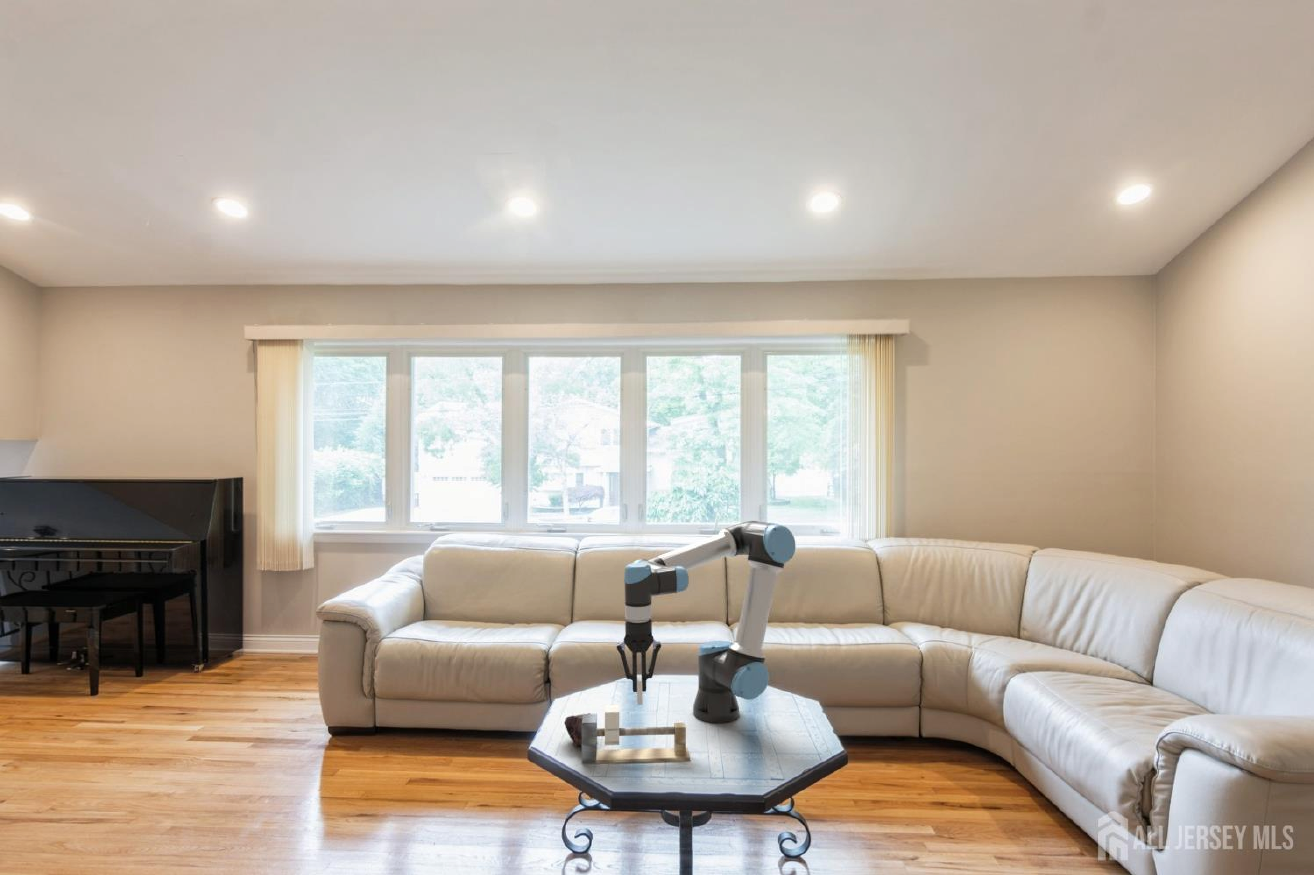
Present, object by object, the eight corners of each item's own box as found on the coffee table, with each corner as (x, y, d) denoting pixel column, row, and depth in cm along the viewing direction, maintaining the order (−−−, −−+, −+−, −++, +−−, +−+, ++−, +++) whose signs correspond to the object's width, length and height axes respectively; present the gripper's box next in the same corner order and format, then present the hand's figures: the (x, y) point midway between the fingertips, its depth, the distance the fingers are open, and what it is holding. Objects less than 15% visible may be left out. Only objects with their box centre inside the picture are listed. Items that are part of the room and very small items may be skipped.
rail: (687, 750, 179) (687, 711, 179) (690, 760, 173) (690, 720, 173) (582, 753, 177) (583, 713, 177) (581, 763, 171) (581, 722, 171)
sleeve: (619, 736, 177) (619, 704, 177) (619, 745, 172) (619, 712, 172) (604, 737, 177) (605, 705, 177) (604, 745, 172) (605, 712, 172)
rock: (597, 738, 189) (564, 738, 188) (598, 708, 191) (565, 708, 190) (597, 750, 177) (561, 750, 177) (598, 718, 179) (563, 718, 178)
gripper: (660, 614, 180) (661, 696, 180) (615, 616, 179) (616, 698, 179) (662, 621, 173) (663, 707, 172) (615, 623, 172) (616, 709, 171)
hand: (639, 702), depth 176 cm, fingers closed
